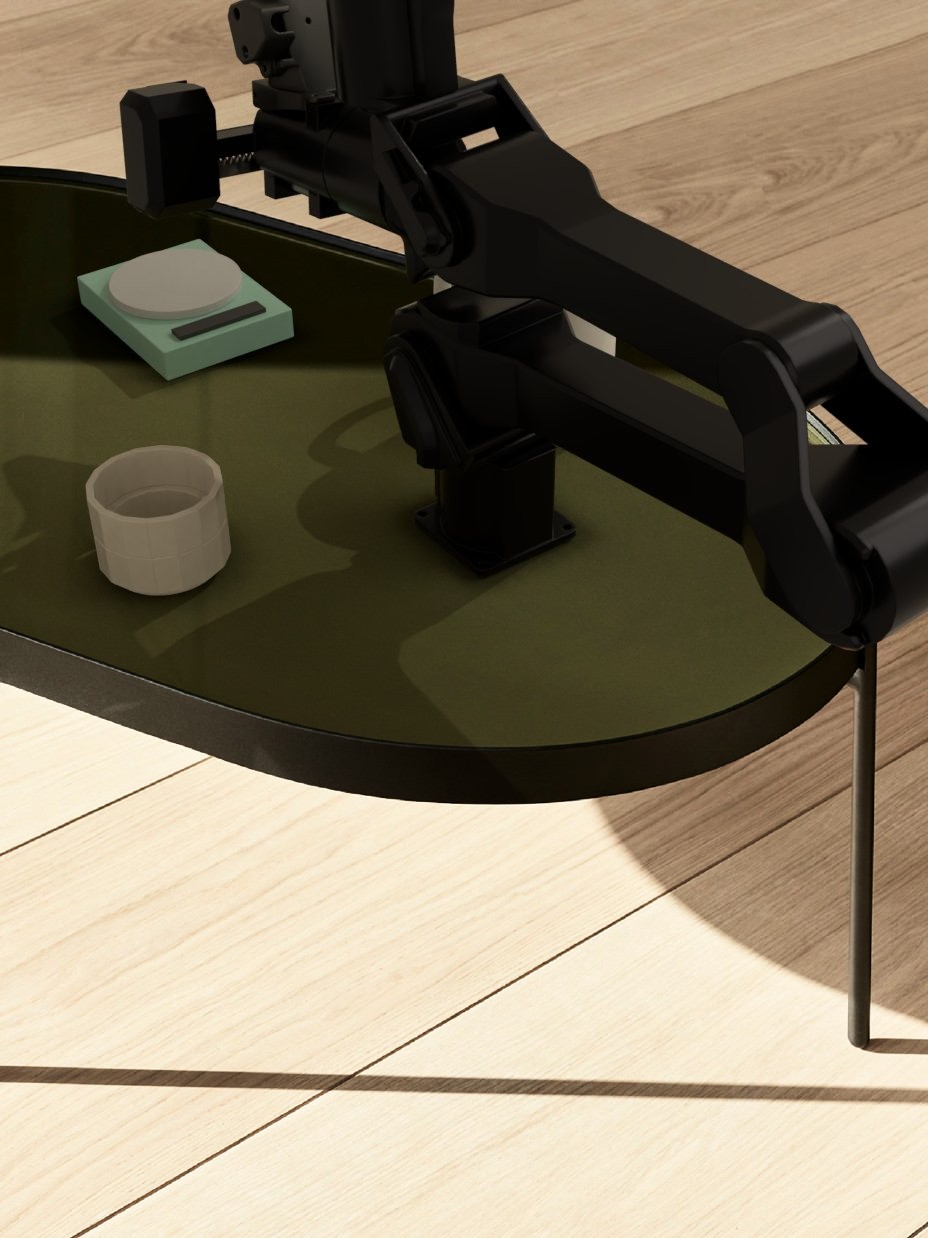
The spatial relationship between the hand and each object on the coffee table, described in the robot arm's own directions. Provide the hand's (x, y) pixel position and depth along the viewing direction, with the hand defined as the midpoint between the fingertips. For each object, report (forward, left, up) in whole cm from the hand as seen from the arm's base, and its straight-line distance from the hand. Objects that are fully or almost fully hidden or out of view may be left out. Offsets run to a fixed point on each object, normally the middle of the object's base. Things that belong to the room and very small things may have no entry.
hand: (205, 96), depth 95 cm
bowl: (-17, +14, -16) cm, 27 cm away
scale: (+5, +1, -16) cm, 17 cm away
